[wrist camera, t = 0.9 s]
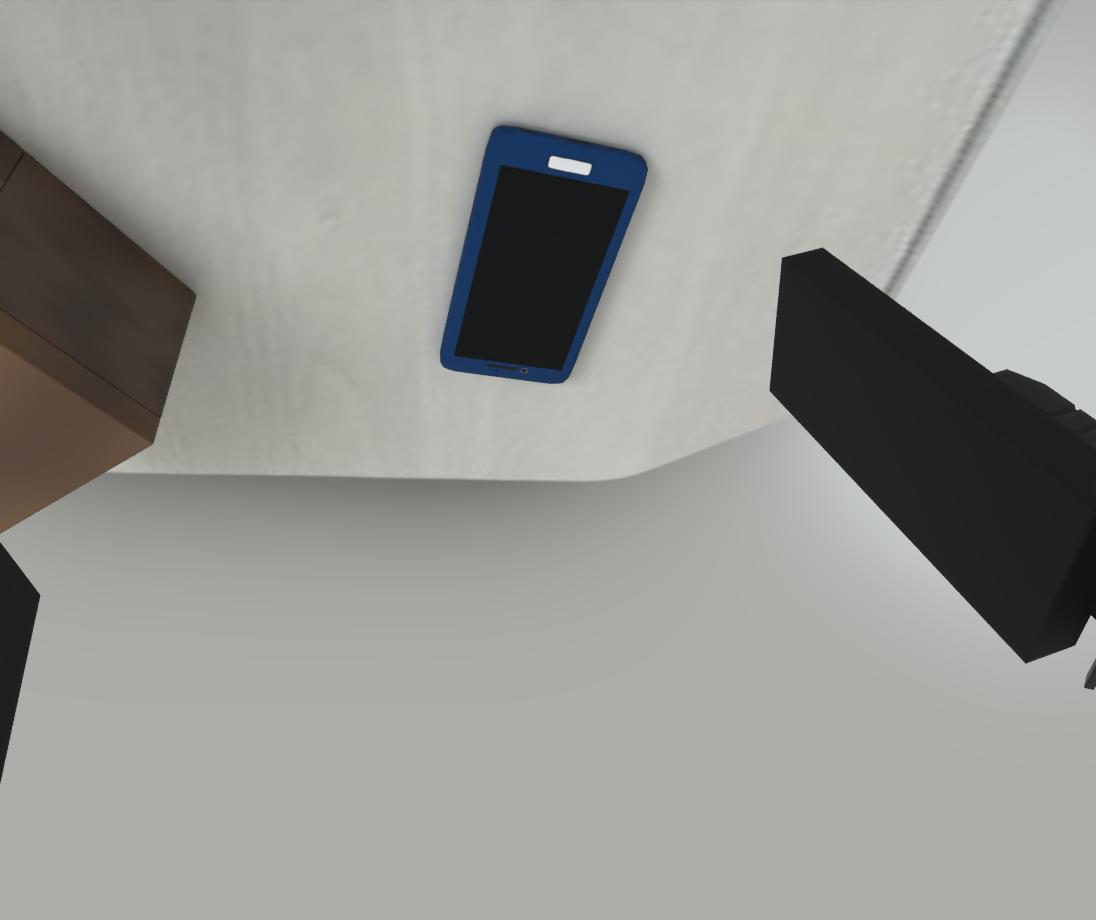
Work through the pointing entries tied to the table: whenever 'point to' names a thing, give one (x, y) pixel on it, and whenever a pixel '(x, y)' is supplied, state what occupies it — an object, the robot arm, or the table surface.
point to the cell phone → (538, 253)
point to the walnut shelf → (75, 340)
